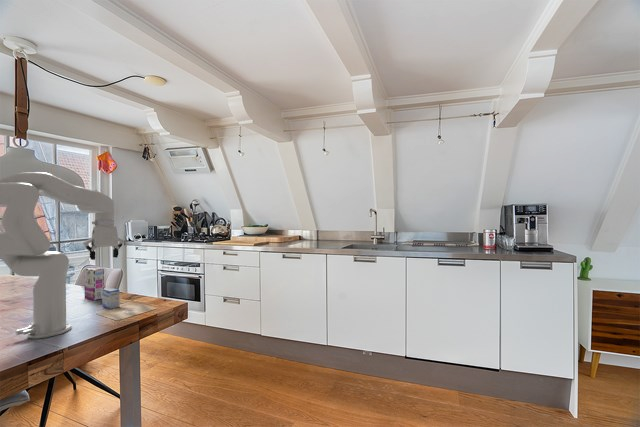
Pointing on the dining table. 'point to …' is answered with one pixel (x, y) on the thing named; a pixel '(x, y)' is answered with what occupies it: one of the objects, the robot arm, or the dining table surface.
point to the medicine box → (110, 298)
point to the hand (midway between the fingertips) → (104, 258)
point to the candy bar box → (94, 283)
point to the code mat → (126, 311)
